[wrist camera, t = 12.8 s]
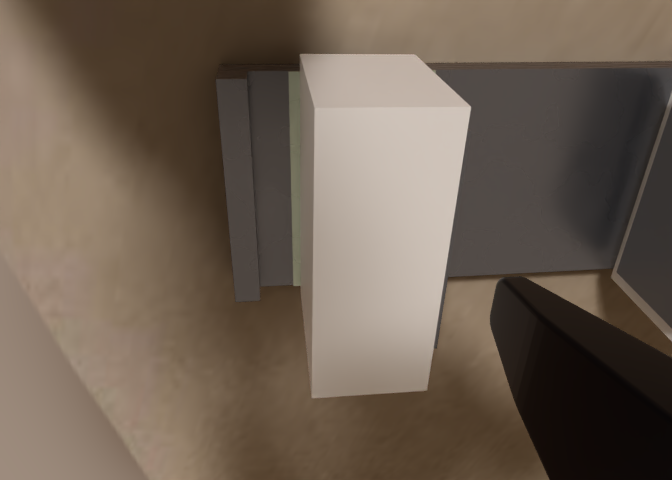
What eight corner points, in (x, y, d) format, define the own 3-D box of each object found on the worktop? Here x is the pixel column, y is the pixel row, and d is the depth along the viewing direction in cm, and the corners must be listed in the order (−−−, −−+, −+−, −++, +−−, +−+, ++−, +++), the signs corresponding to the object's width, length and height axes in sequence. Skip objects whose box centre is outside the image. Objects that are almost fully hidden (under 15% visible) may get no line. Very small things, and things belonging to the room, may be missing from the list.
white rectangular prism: (300, 293, 24) (311, 398, 19) (299, 53, 19) (314, 107, 14) (403, 288, 24) (440, 389, 19) (429, 54, 19) (490, 106, 14)
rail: (219, 64, 20) (215, 79, 18) (824, 60, 22) (870, 72, 21) (237, 274, 24) (235, 301, 23) (737, 250, 27) (769, 273, 25)
